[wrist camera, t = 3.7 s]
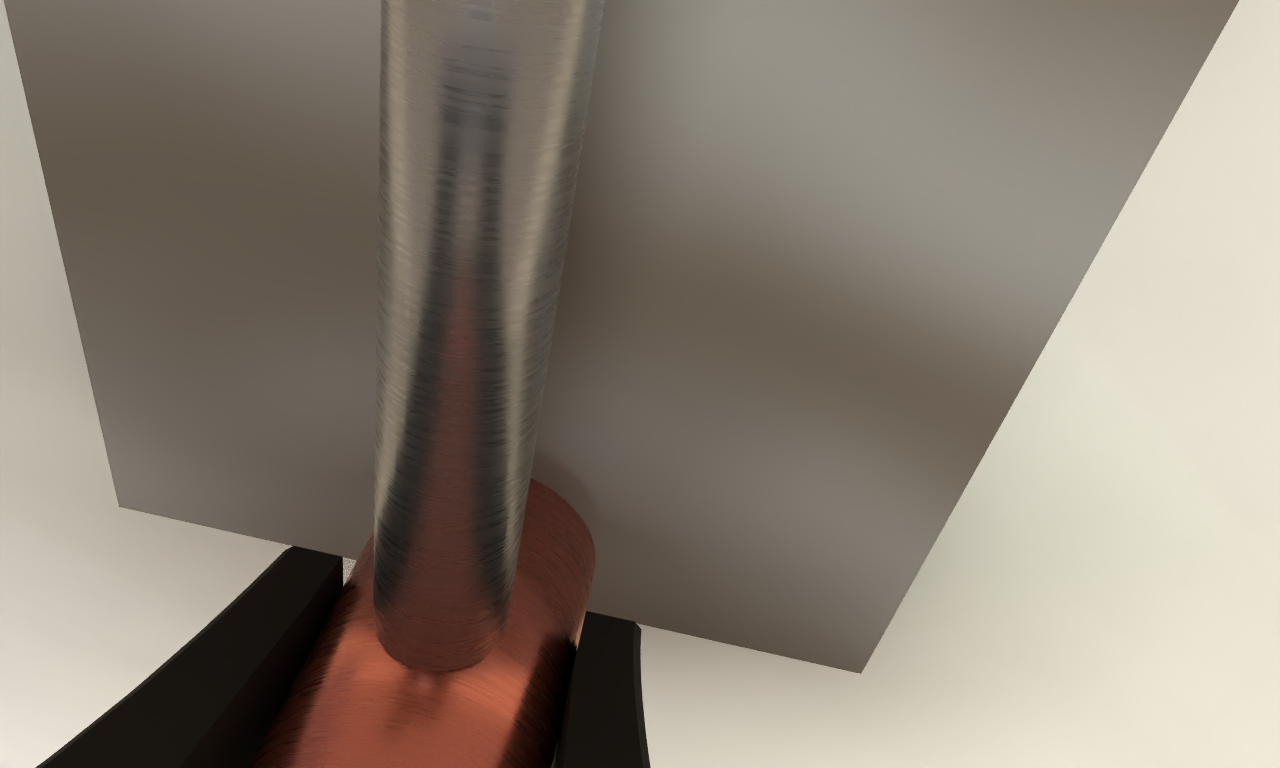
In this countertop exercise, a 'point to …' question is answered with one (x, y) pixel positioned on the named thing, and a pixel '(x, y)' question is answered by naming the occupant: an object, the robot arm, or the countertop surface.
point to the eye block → (616, 272)
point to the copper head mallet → (461, 407)
